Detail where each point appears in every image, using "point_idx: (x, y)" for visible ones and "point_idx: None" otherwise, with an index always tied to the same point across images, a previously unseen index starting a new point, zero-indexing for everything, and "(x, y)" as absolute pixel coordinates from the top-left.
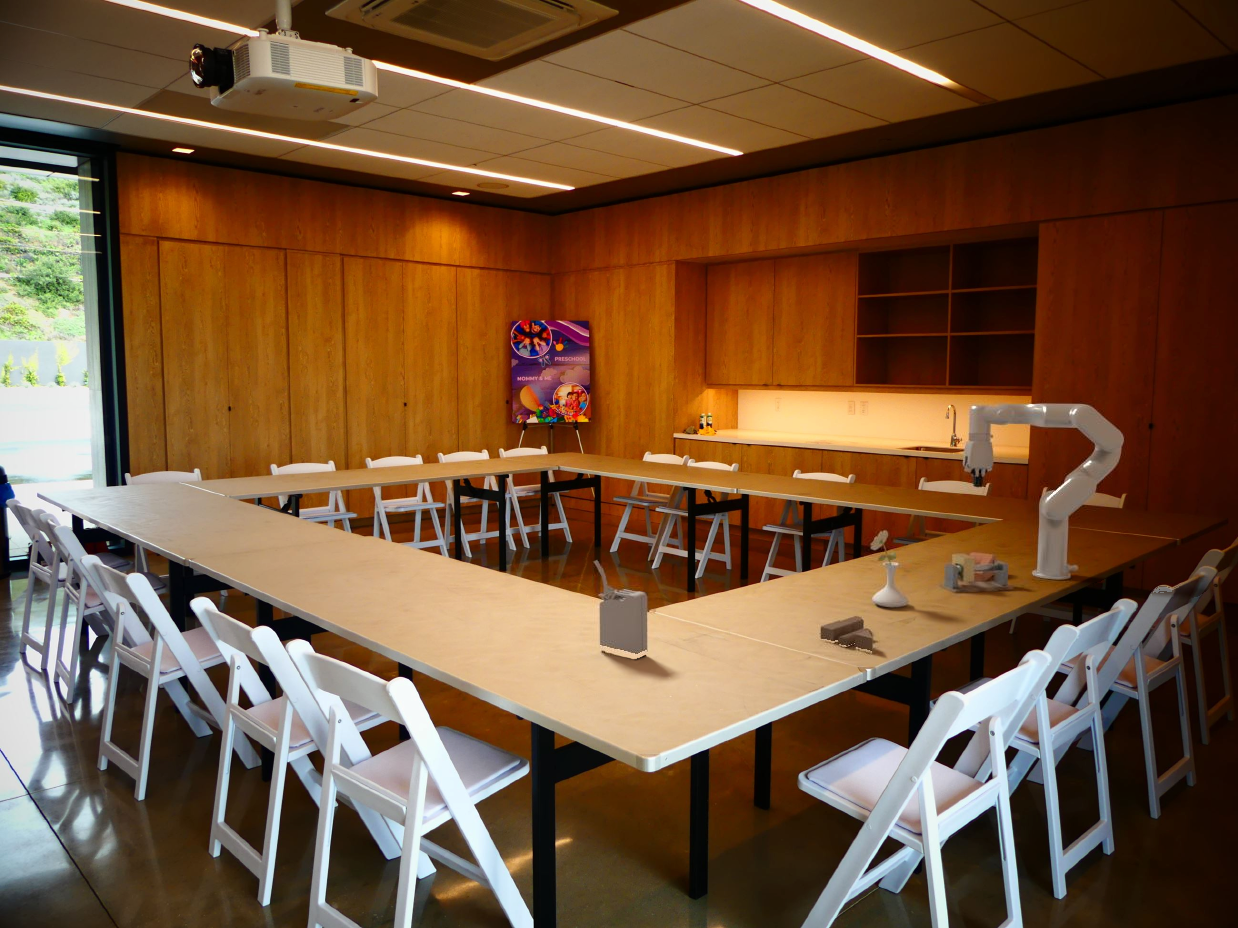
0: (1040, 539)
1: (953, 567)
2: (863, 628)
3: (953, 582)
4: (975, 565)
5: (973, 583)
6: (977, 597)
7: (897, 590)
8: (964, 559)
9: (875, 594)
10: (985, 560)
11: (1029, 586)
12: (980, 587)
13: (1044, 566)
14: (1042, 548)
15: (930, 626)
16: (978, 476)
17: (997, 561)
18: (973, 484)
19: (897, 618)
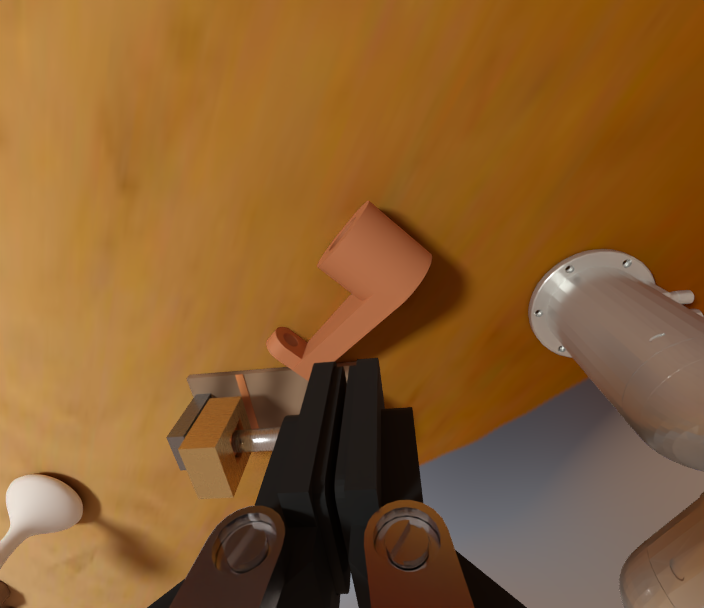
0: (610, 375)
1: (182, 468)
2: (4, 600)
3: None
4: (257, 450)
5: (280, 384)
6: (250, 468)
7: (40, 532)
8: (201, 495)
9: (6, 502)
10: (355, 324)
11: (430, 403)
12: (282, 420)
13: (560, 340)
14: (588, 368)
15: (113, 586)
16: (327, 587)
17: None
18: (290, 416)
19: (64, 552)
